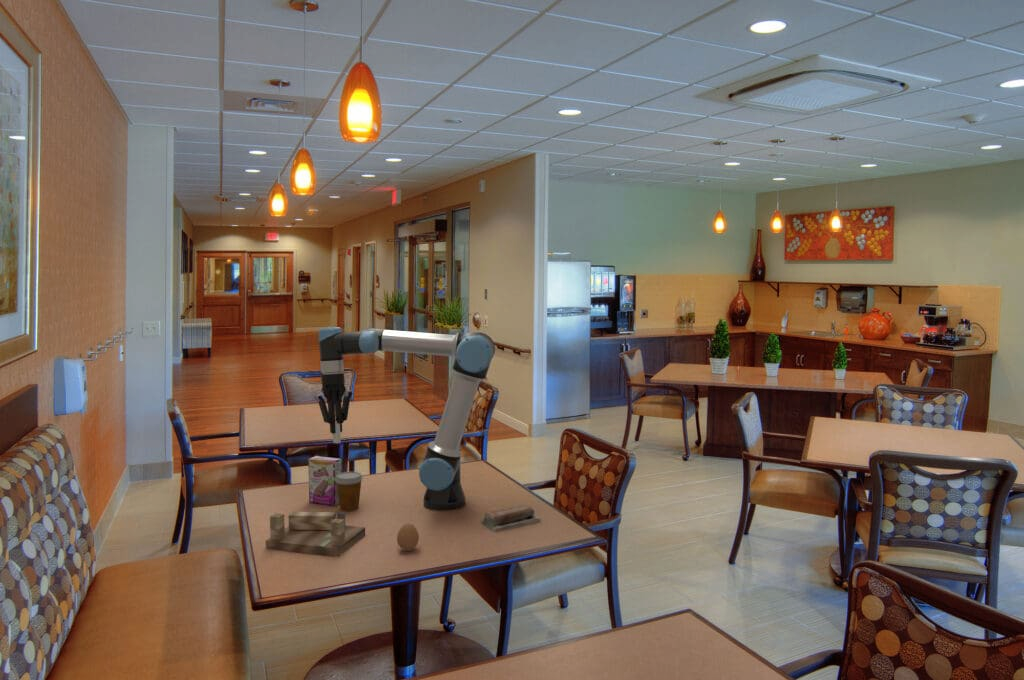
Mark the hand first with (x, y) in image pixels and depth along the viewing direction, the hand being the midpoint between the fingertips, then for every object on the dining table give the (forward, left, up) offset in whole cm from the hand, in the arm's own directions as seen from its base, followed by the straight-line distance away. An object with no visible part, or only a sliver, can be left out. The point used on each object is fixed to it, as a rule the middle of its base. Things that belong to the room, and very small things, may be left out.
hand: (337, 442), depth 240 cm
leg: (-1, +18, -23) cm, 29 cm away
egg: (-34, +21, -26) cm, 48 cm away
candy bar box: (+12, -12, -26) cm, 31 cm away
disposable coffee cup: (+1, -9, -26) cm, 28 cm away
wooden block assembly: (-4, +22, -26) cm, 34 cm away
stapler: (-58, -11, -27) cm, 65 cm away
